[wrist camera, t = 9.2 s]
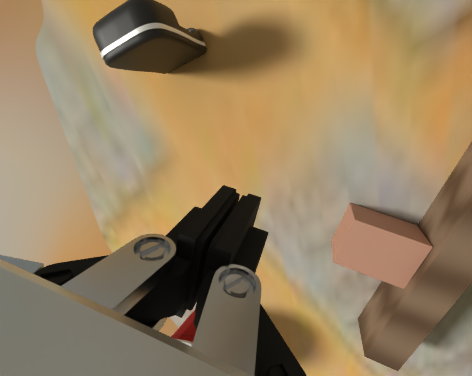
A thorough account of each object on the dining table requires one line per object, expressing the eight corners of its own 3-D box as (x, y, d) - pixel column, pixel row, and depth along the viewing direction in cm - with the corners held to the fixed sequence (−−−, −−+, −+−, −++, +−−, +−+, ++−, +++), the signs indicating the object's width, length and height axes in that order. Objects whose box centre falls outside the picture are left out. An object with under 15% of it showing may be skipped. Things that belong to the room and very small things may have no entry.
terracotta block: (349, 202, 33) (354, 219, 28) (416, 224, 31) (433, 246, 27) (331, 240, 35) (333, 262, 31) (392, 262, 34) (404, 289, 29)
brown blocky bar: (478, 131, 26) (519, 141, 21) (521, 143, 26) (576, 157, 20) (357, 318, 38) (364, 356, 32) (386, 330, 37) (397, 371, 32)
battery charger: (198, 18, 30) (137, -20, 20) (210, 52, 31) (157, 32, 21) (151, 45, 33) (76, 24, 23) (164, 75, 34) (97, 68, 24)
